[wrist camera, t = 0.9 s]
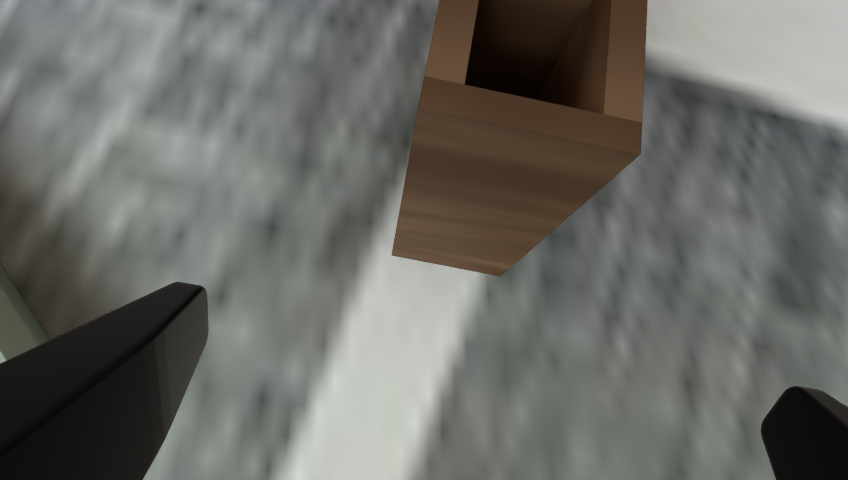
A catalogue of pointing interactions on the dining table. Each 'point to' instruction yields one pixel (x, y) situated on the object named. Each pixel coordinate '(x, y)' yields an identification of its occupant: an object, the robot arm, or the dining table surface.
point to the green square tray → (16, 322)
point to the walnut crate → (518, 124)
